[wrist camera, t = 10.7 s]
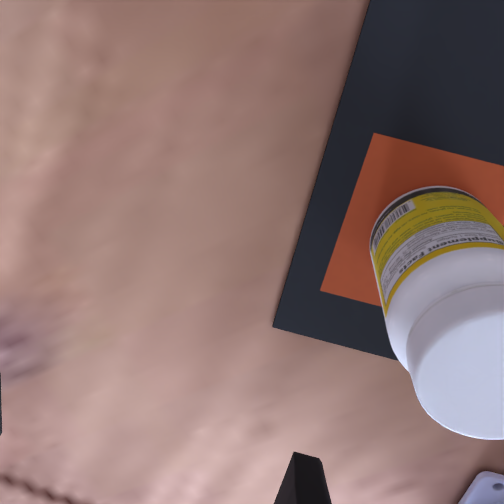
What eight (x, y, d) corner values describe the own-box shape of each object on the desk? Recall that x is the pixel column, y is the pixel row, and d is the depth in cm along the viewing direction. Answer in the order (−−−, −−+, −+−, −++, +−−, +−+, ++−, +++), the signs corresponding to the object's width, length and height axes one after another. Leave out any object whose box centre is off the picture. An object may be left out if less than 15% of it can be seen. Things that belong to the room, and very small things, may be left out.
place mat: (873, -276, 12) (882, -281, 12) (484, 381, 22) (486, 384, 22) (481, -369, 12) (483, -375, 12) (272, 324, 22) (272, 327, 22)
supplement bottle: (491, 286, 20) (597, 452, 12) (373, 296, 20) (403, 456, 13) (495, 173, 18) (624, 288, 10) (363, 190, 18) (392, 306, 11)
